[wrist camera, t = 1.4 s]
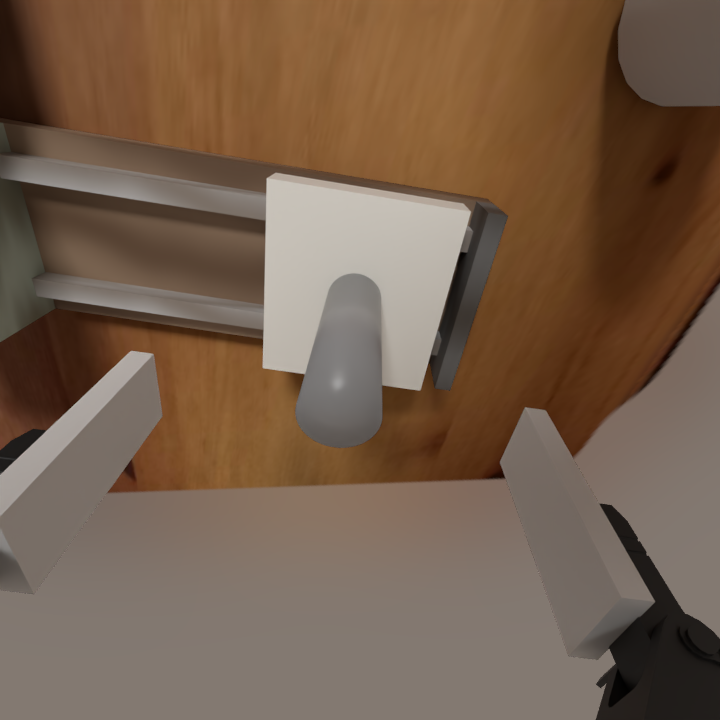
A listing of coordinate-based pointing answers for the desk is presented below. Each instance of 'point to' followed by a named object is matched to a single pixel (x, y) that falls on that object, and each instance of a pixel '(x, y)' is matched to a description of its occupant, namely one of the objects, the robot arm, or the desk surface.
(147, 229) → the rail bed
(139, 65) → the desk surface
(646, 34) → the can
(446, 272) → the carriage
